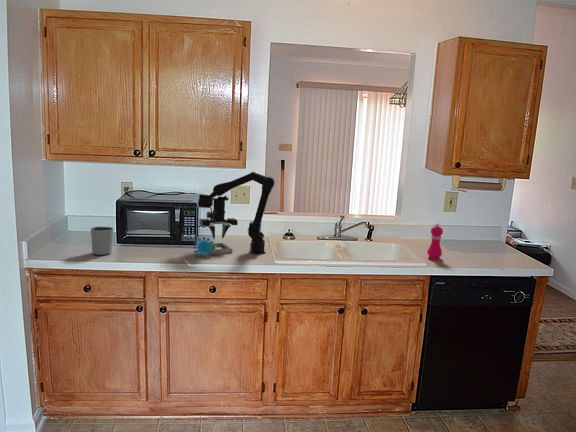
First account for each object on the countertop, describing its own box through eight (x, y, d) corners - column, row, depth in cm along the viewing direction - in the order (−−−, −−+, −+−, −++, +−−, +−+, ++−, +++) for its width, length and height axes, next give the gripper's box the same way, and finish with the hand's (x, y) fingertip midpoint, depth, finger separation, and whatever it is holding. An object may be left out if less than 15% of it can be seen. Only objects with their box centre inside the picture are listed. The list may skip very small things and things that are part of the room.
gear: (192, 256, 233) (193, 236, 237) (195, 259, 239) (196, 240, 243) (215, 255, 233) (216, 236, 237) (217, 259, 238) (218, 240, 242)
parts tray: (223, 247, 258) (223, 242, 257) (232, 253, 245) (232, 248, 245) (203, 248, 253) (203, 243, 253) (212, 254, 240) (212, 249, 240)
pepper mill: (431, 263, 248) (435, 224, 244) (423, 259, 254) (427, 222, 251) (443, 262, 250) (447, 224, 247) (435, 259, 256) (439, 222, 253)
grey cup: (86, 252, 231) (86, 228, 229) (102, 249, 240) (102, 225, 238) (101, 256, 227) (101, 231, 225) (118, 252, 236) (117, 228, 234)
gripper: (231, 206, 257) (230, 234, 259) (196, 206, 248) (196, 236, 251) (238, 209, 247) (237, 239, 249) (203, 209, 239) (202, 240, 241)
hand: (218, 238), depth 248 cm, fingers open, 4 cm apart
